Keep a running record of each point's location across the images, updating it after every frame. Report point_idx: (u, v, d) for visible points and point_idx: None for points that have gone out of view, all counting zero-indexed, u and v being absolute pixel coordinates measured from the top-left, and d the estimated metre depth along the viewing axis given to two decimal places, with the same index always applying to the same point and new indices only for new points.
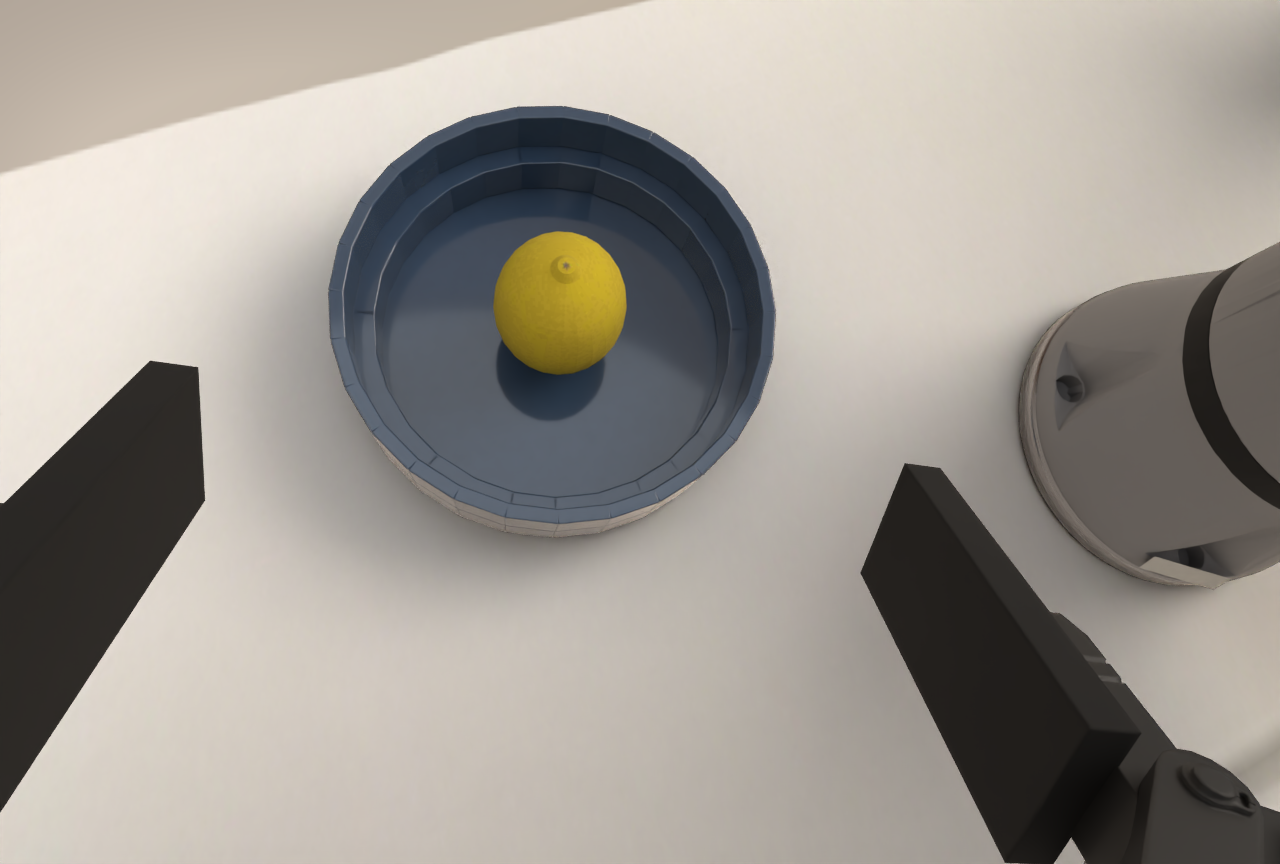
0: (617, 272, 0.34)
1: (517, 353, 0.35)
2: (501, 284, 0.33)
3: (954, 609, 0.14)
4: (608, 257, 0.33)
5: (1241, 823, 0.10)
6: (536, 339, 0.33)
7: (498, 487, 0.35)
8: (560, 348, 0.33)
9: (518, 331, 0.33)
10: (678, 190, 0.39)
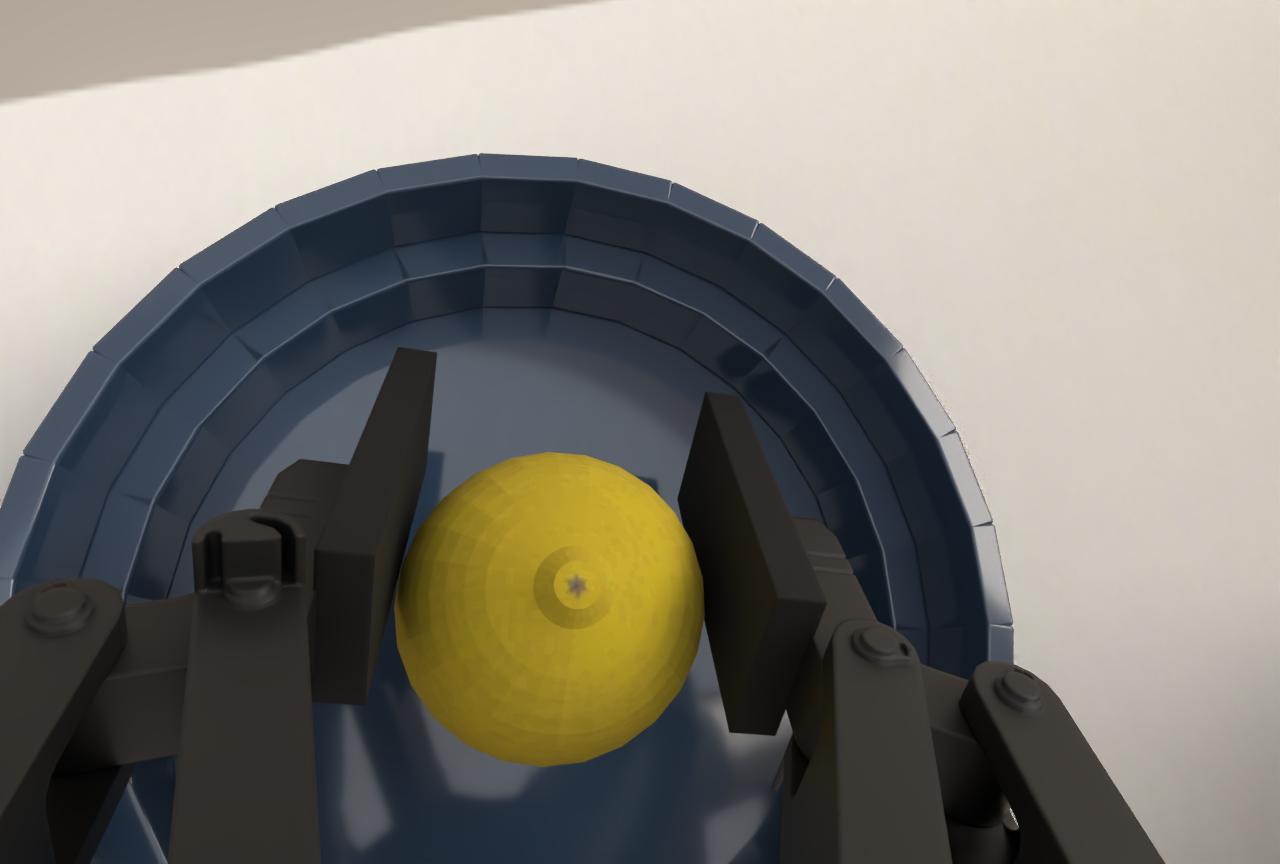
0: (694, 565, 0.14)
1: None
2: (409, 588, 0.13)
3: (720, 515, 0.15)
4: (675, 530, 0.14)
5: (904, 671, 0.11)
6: (487, 739, 0.13)
7: None
8: (546, 757, 0.13)
9: (442, 710, 0.13)
10: (793, 334, 0.20)
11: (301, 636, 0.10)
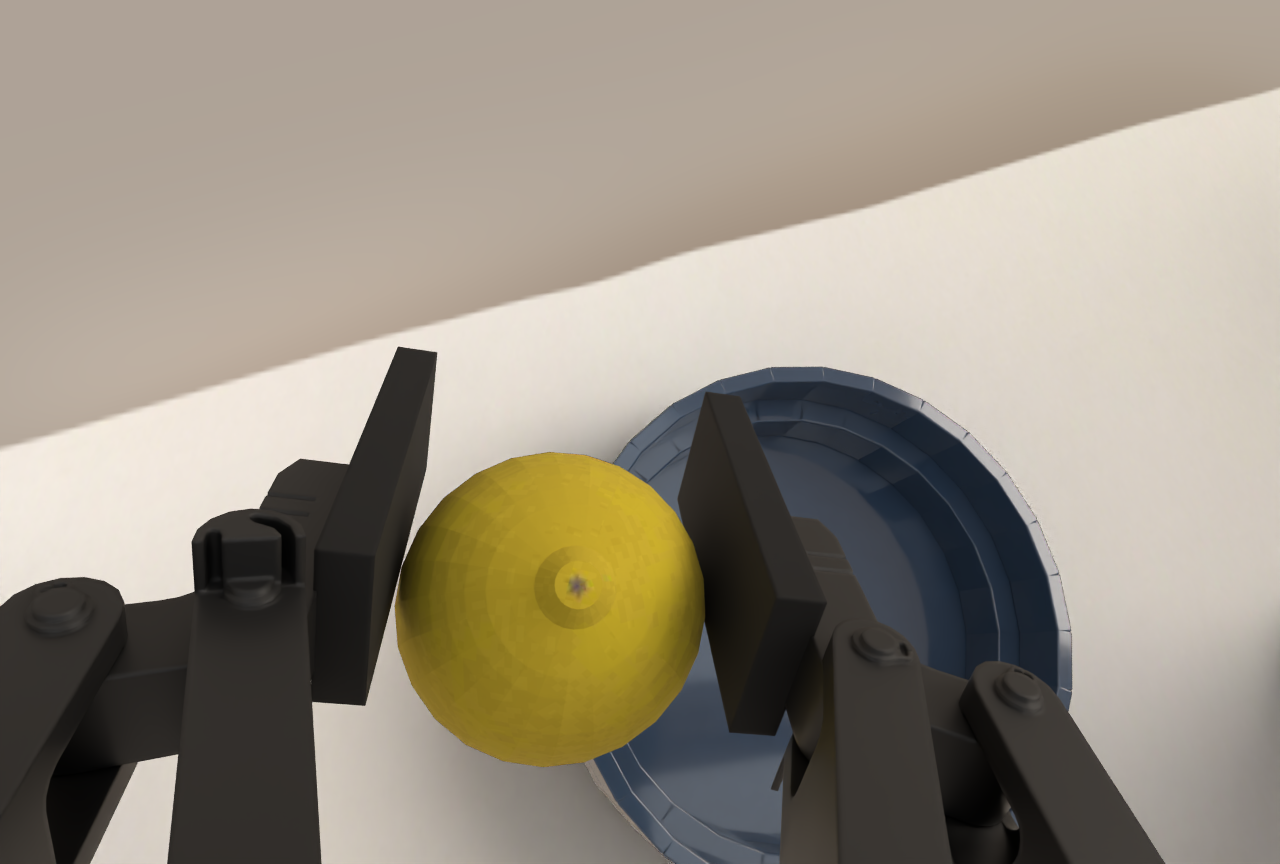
0: (695, 565, 0.14)
1: None
2: (410, 588, 0.13)
3: (720, 515, 0.15)
4: (676, 530, 0.14)
5: (904, 671, 0.11)
6: (488, 739, 0.13)
7: (745, 847, 0.28)
8: (547, 757, 0.13)
9: (443, 710, 0.13)
10: (935, 458, 0.33)
11: (301, 636, 0.10)
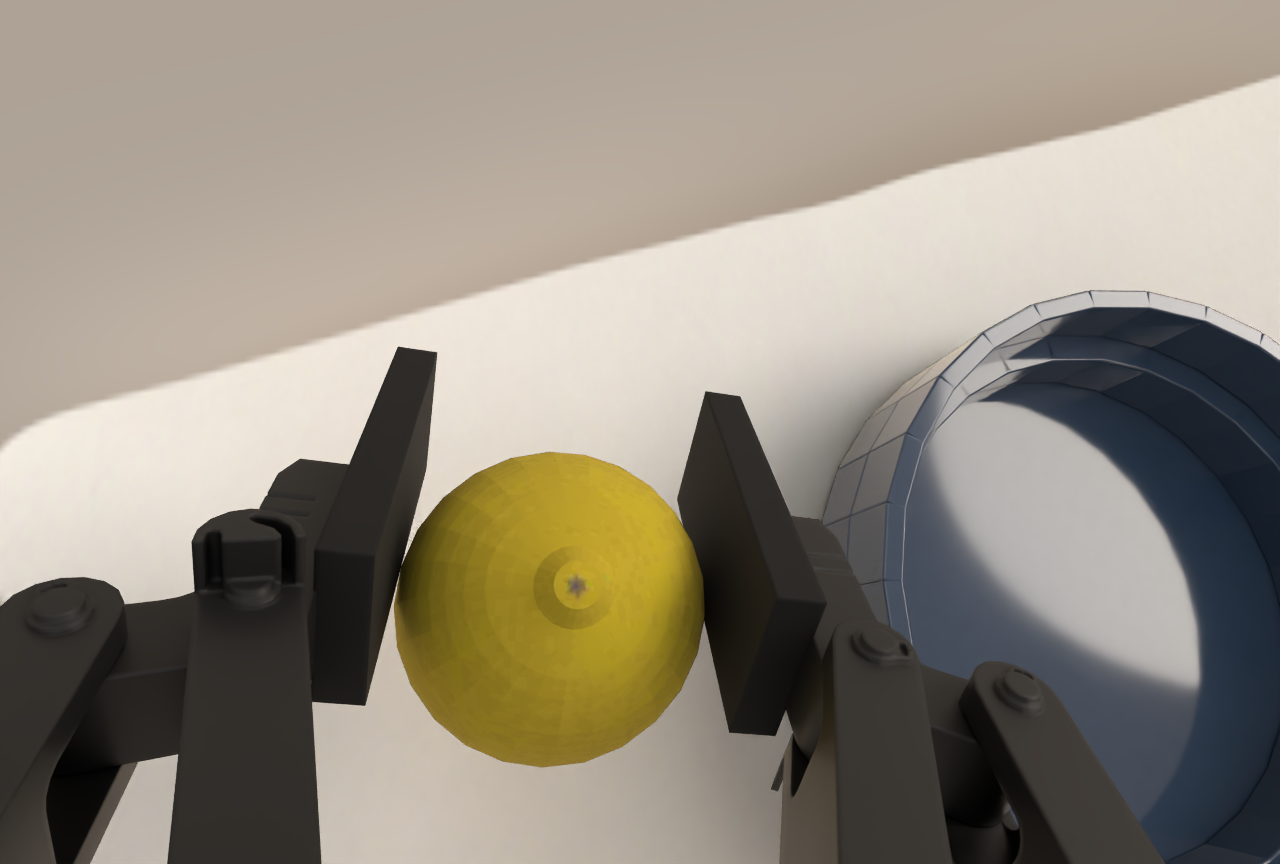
0: (694, 565, 0.14)
1: None
2: (409, 588, 0.13)
3: (720, 515, 0.15)
4: (675, 530, 0.14)
5: (904, 671, 0.11)
6: (487, 739, 0.13)
7: None
8: (546, 757, 0.13)
9: (442, 710, 0.13)
10: (1256, 406, 0.28)
11: (301, 636, 0.10)
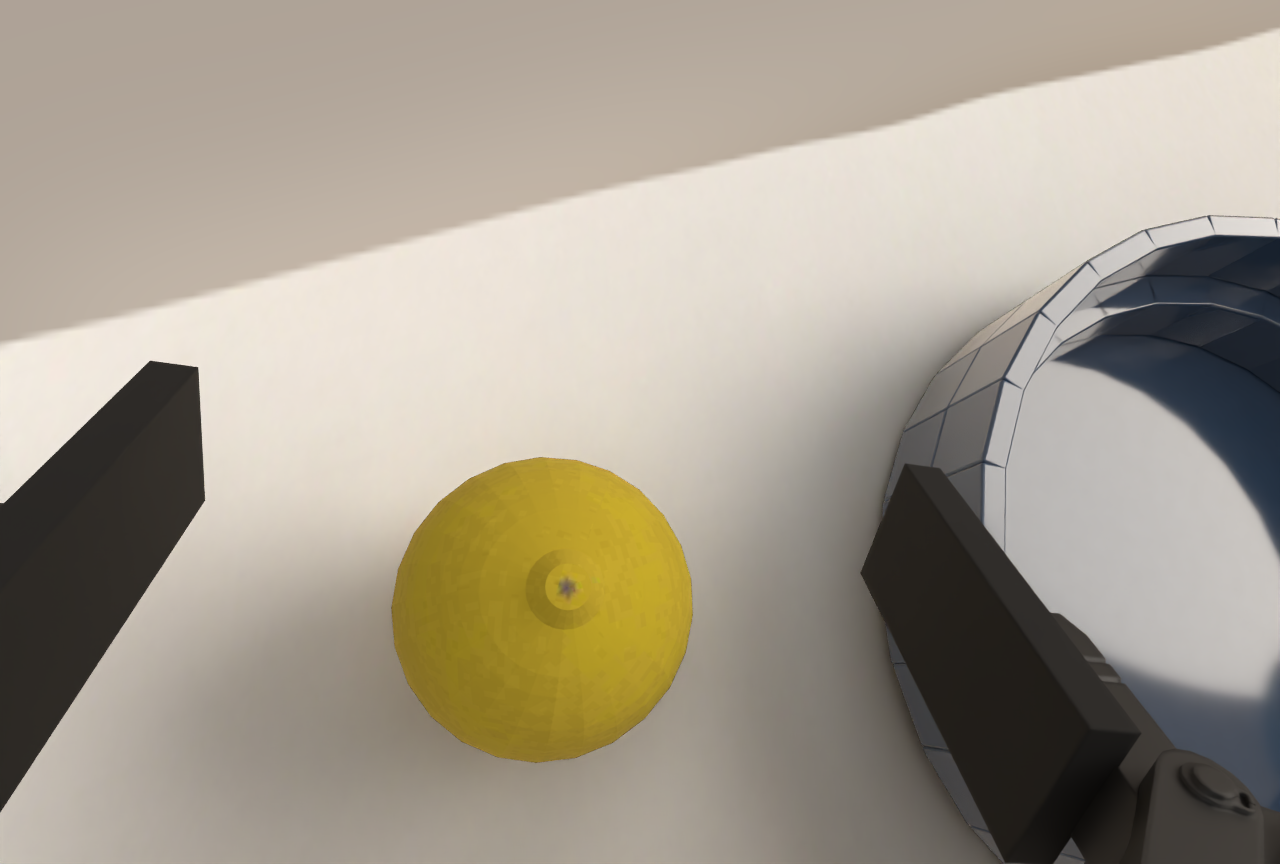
0: (682, 567, 0.14)
1: None
2: (406, 590, 0.14)
3: (954, 609, 0.14)
4: (663, 533, 0.14)
5: (1241, 823, 0.10)
6: (482, 735, 0.14)
7: None
8: (539, 753, 0.14)
9: (438, 708, 0.14)
10: None
11: None
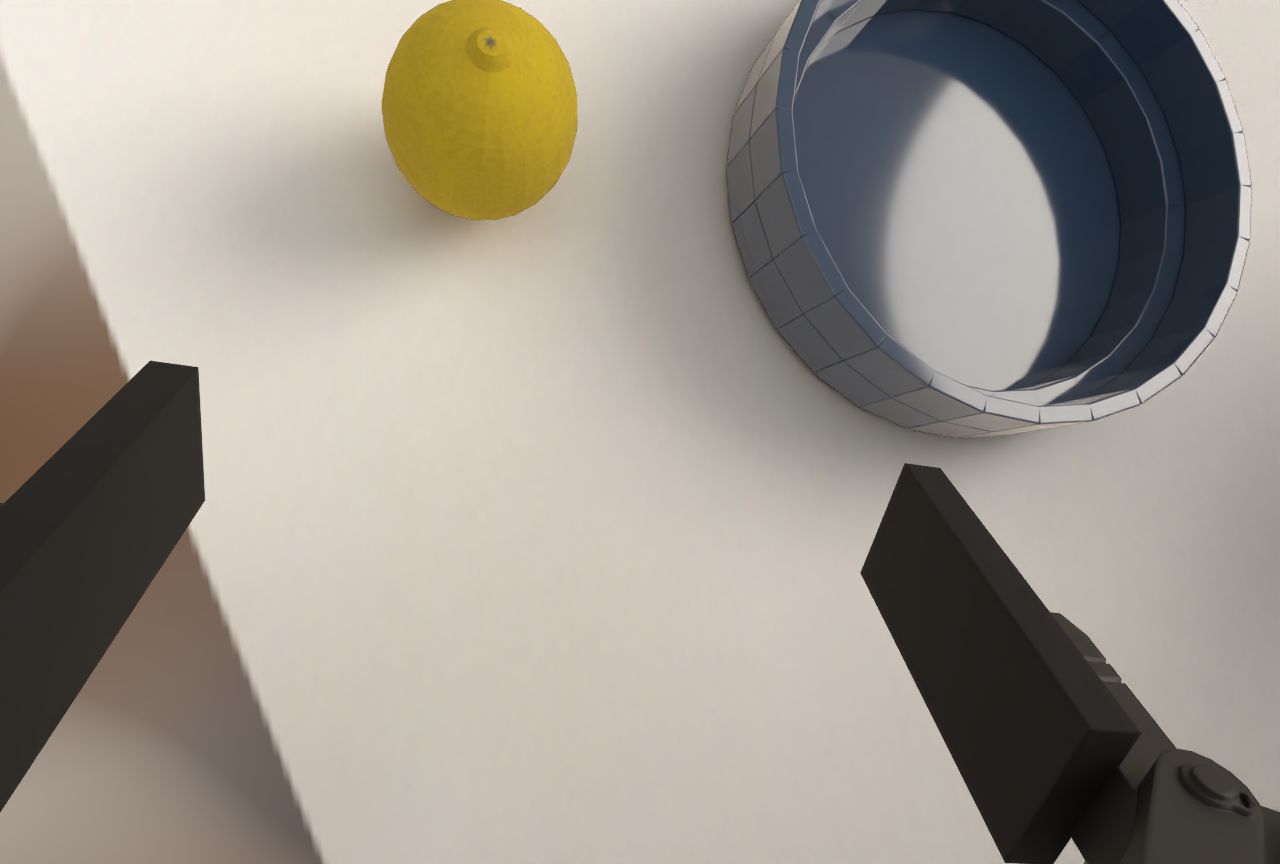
0: (567, 68, 0.23)
1: (415, 181, 0.24)
2: (392, 70, 0.22)
3: (954, 609, 0.14)
4: (555, 43, 0.23)
5: (1241, 823, 0.10)
6: (441, 159, 0.22)
7: None
8: (477, 175, 0.23)
9: (414, 144, 0.22)
10: (1116, 27, 0.32)
11: None
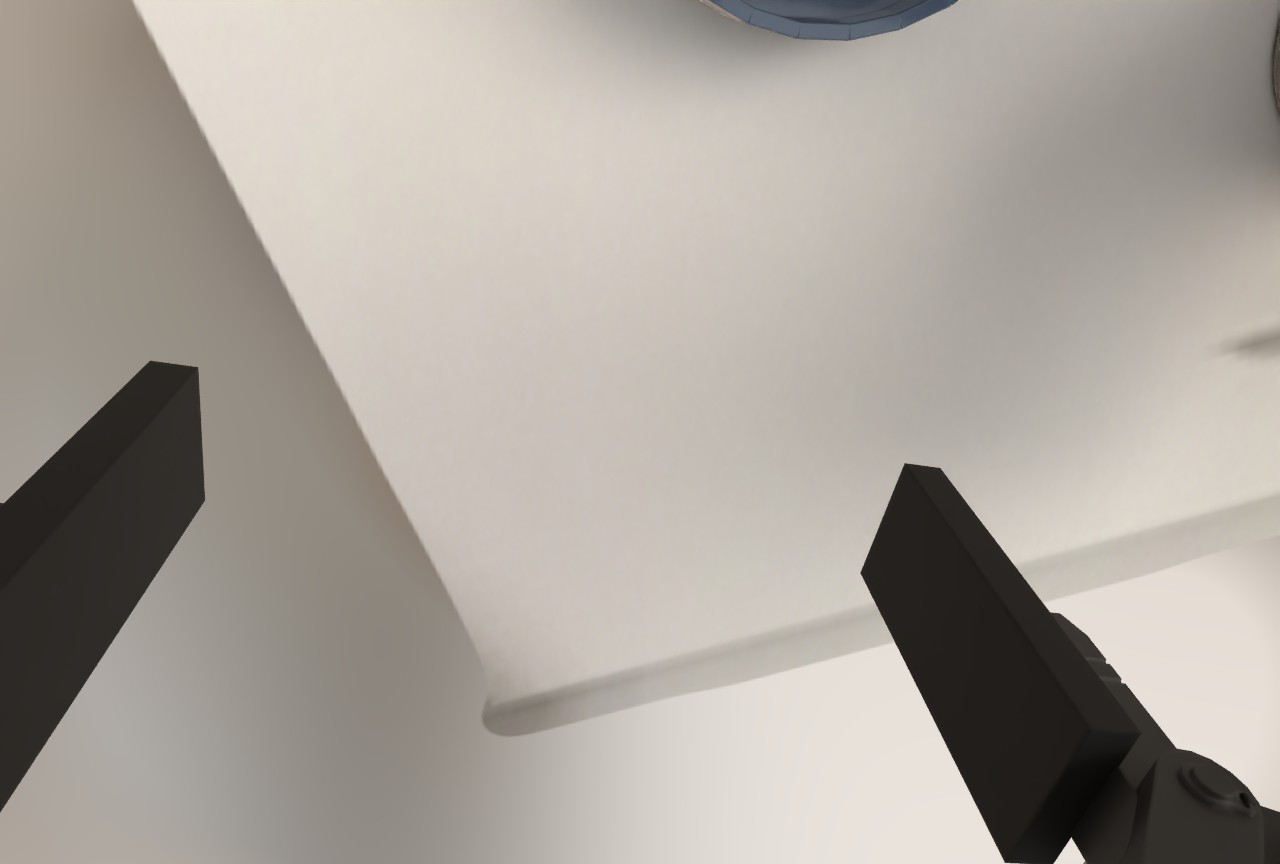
0: None
1: None
2: None
3: (954, 609, 0.14)
4: None
5: (1241, 823, 0.10)
6: None
7: None
8: None
9: None
10: None
11: None
